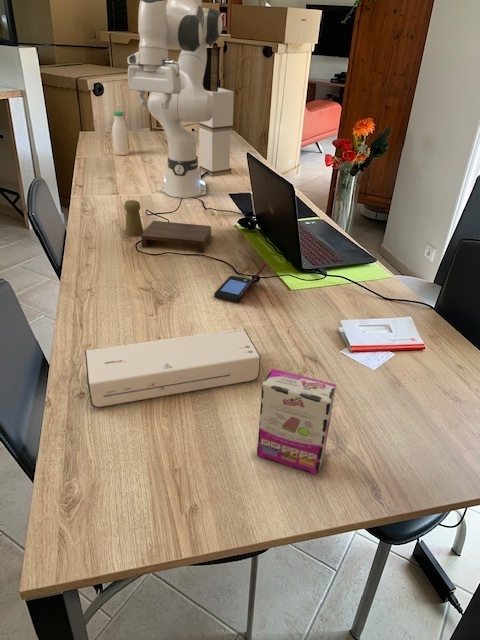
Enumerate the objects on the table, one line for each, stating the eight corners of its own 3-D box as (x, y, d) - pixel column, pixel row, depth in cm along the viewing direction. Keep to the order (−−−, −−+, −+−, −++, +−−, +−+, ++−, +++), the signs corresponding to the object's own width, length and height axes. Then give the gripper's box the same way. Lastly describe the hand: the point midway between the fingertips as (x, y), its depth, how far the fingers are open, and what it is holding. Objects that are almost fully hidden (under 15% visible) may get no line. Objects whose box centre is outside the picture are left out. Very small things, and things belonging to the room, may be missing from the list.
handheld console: (230, 278, 141) (231, 254, 137) (265, 286, 138) (267, 262, 134) (212, 298, 131) (212, 273, 127) (250, 307, 128) (251, 282, 124)
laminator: (91, 409, 94) (87, 384, 91) (88, 370, 104) (84, 346, 101) (259, 380, 103) (260, 356, 100) (241, 347, 113) (242, 324, 110)
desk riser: (153, 231, 168) (153, 220, 166) (211, 237, 166) (211, 225, 164) (141, 247, 157) (141, 235, 155) (203, 253, 155) (203, 241, 153)
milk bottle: (127, 156, 248) (124, 113, 237) (112, 155, 248) (108, 113, 237) (131, 152, 255) (127, 110, 244) (116, 151, 255) (112, 110, 244)
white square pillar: (231, 173, 230) (233, 91, 211) (212, 176, 225) (212, 92, 206) (218, 167, 238) (219, 87, 219) (199, 169, 232) (198, 88, 214)
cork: (139, 237, 163) (137, 205, 158) (122, 235, 164) (119, 203, 158) (146, 230, 168) (143, 199, 163) (129, 228, 169) (126, 197, 163)
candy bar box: (324, 455, 87) (338, 383, 78) (318, 476, 83) (331, 403, 74) (264, 437, 90) (271, 366, 81) (255, 456, 86) (261, 384, 77)
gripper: (185, 61, 149) (185, 110, 155) (138, 58, 159) (139, 105, 165) (171, 59, 144) (171, 110, 150) (123, 57, 154) (125, 105, 160)
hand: (154, 107), depth 158 cm, fingers open, 8 cm apart
